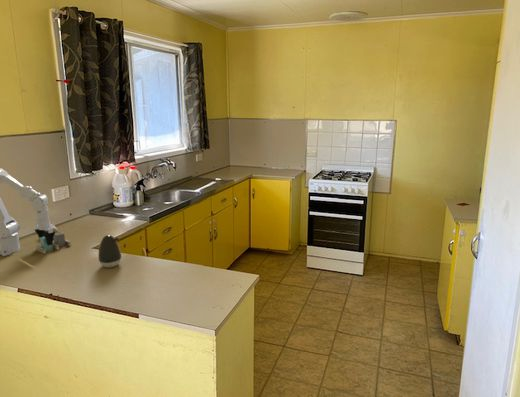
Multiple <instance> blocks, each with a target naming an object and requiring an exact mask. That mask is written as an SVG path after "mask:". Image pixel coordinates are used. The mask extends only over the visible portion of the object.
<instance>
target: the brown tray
mask: <svg viewBox="0 0 520 397" xmlns="http://www.w3.org/2000/svg"><path fill="white" fill-rule="evenodd" d="M65 244H66V246H64V247H60V248H59V246H58V245H57V244H55V243H54V242H53V243H52V246H53V250H50V251H46V250H45V248H43V247H41V245H39V244H36V245H35V250H36V251H37V252H39V253H41V254H43V255H45V254H49V253H52V252H55V251H56V252H57V251H59V250H62V249H66V248H69V247H72V240H68V239H66V238H65Z"/></svg>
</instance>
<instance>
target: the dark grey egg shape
mask: <svg viewBox="0 0 520 397" xmlns="http://www.w3.org/2000/svg"><path fill="white" fill-rule="evenodd" d="M118 240H119V237H114V236H112V235H110V234H106V235H104V236H103V237H102V239H101V241H100V243H99V248H98V262H99V263H100V265H101V266H102V267H104V268H115V267H117V266H118V265H119V264H120V263H121V259H122V253H121V249H120V246H119V243H118V242H117V241H118Z"/></svg>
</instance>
